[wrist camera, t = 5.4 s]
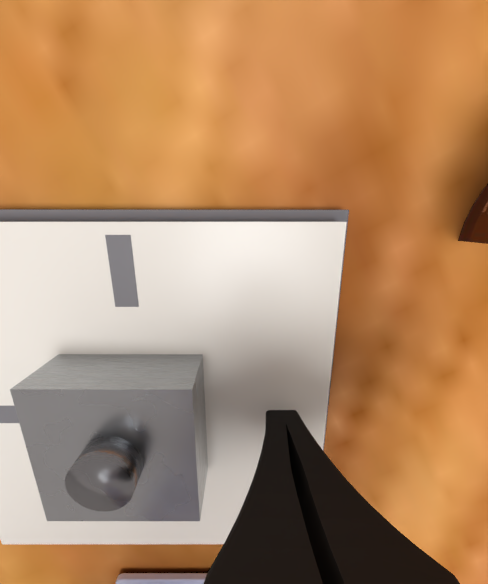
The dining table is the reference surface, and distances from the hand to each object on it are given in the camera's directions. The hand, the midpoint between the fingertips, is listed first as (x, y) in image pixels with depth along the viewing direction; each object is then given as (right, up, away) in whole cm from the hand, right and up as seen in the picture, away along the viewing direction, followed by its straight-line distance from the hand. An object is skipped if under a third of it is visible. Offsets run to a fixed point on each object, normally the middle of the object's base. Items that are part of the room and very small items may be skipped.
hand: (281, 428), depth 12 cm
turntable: (-8, 0, +2) cm, 8 cm away
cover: (-7, 0, +1) cm, 7 cm away
